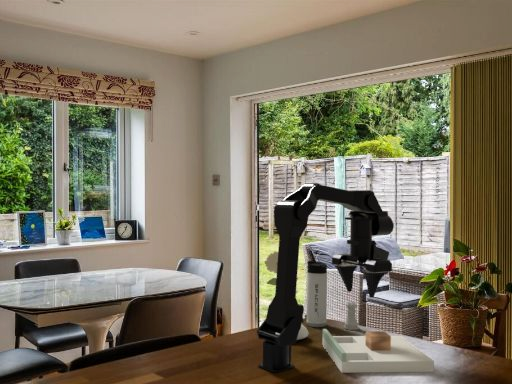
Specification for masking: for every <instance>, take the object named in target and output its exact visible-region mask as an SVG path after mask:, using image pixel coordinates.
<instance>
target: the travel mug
mask: <svg viewBox="0 0 512 384" xmlns="http://www.w3.org/2000/svg"><path fill="white" fill-rule="evenodd" d="M306 262H307V265H306V266H307V272H306V274H307V275H306V321H305V322H306V325H307V327H311V328H324V327H326V326H327V301H328V299H327V298H328V297H327V294H328V293H327V292H328V272H327V271H328V270H327V269H328V265H327V264H326V263H324V262H320V261H314V260H307V261H306Z"/></svg>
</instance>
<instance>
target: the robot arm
mask: <svg viewBox="0 0 512 384" xmlns="http://www.w3.org/2000/svg"><path fill="white" fill-rule="evenodd" d="M319 201H321V202H325V203H332V204H336V205H337V204H338V205H341V206H342V207H343V208H345V209H347V210H348V211H349V213H348V214H346V215H345V217H344V219H345V220H347V221H350V227H349V228H350V230H349V231H350V232H349V233H350V235H349V236H350V239H346V244H347V245H349V246H350V247H349V253H334V254H333V256H332V257H331V264H332V265H334V268H335V269H337V272H338V274H339V276H340V278H341V279H342V281H343V284H344V286H345V288H346V291H347V292H350V293H351V292H352V291H353V283H354V272H355V270H356V269H357V267H358V266H360V267H364V268H365V270H366V271H364V275H365V276H364V277H365V282H366V286H367V287H366V288H367V292H368V297H370V298H374V297H375V294H376V292H377V289H378V286H379V284H380V281H381V279H383V277H384V276H385V275H388V274H389V272H392V271H393V263H392V262H391V260H388V259H389V255H390V251H388V250H386V249H383V248H381V247H379V246H377V241H376V240H373V237H376V236H388V235H391V233H392V232H394V231H393V230H394V228H395V227H394V226H395V225H394V224H395V223H394V222H393V221H394V220H393V219H392V218H391V216H389V212H388V211H387V210H383V208H382V207H381V204H380V203H379V201H378V199H377V197H376V194H375V192H374V191H373V190H371V189H369V190H368V189H367V190H363V189H362V190H361V189H360V190H359V189H356V190H355V189H352V190H347V189H342V188H338V187H334V186H328V185H322V184H320V183H319V182H315V183H314V182H312V183H311V182H309V183H308V182H307V183H304V184H303V185H301V186H300V187H299V188H298V189H297V190H295V191H294V192H292V193H290V194H288V195H287V196H286V197H285V198H284V199H283V200H280V201H278V202H277V204H275V205H274V208H273V221H274V222H273V223H274V227H275V228H276V231H277V234H278V239H279V240H278V251H277V252H278V263H277V273H276V277H275V278H276V285H275V292H274V297H273V298H272V300H271V301H270V303H269V305H268V308H267V312H266V317H265V318H264V320H263V322H262V323H261V325H260V326H259V327H258V328H257V330H256V334H257V339H259V340H263V342H262V362H261V363H258V364H257V367H258V368H261V369H264V370H268V371H270V372H273V373H278V374H279V373H281V372H284V371H285V372H286V371H287V370H291V369H294V368H296V364H293V363H291V362H292V345H294V344H297V341H298V340H297V337H298V333H299V330H300V328H301V324H303V323H304V310H305V308H304V305H302V304H300V303H298V300H297V293H296V290H297V284H298V283H297V282H298V280H297V278H298V267H299V254H300V253H299V252H300V239H301V237H302V235H303V233H304V232H305V230H306V229H307V227H308V222H309V217H310V215H312V213H313V212H314V211H315V209H316V208H317V205H318V202H319ZM276 332H277V333H280V335H276V334H275V333H276Z"/></svg>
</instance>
